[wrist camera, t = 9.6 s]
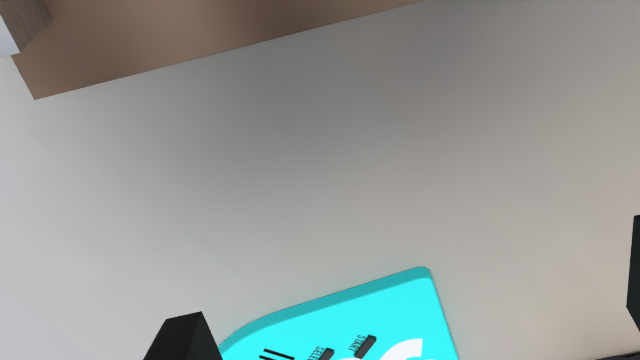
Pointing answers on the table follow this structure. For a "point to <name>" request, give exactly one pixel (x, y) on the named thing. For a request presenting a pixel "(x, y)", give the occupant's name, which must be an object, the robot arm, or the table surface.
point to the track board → (162, 34)
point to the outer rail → (20, 24)
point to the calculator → (622, 358)
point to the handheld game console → (353, 325)
